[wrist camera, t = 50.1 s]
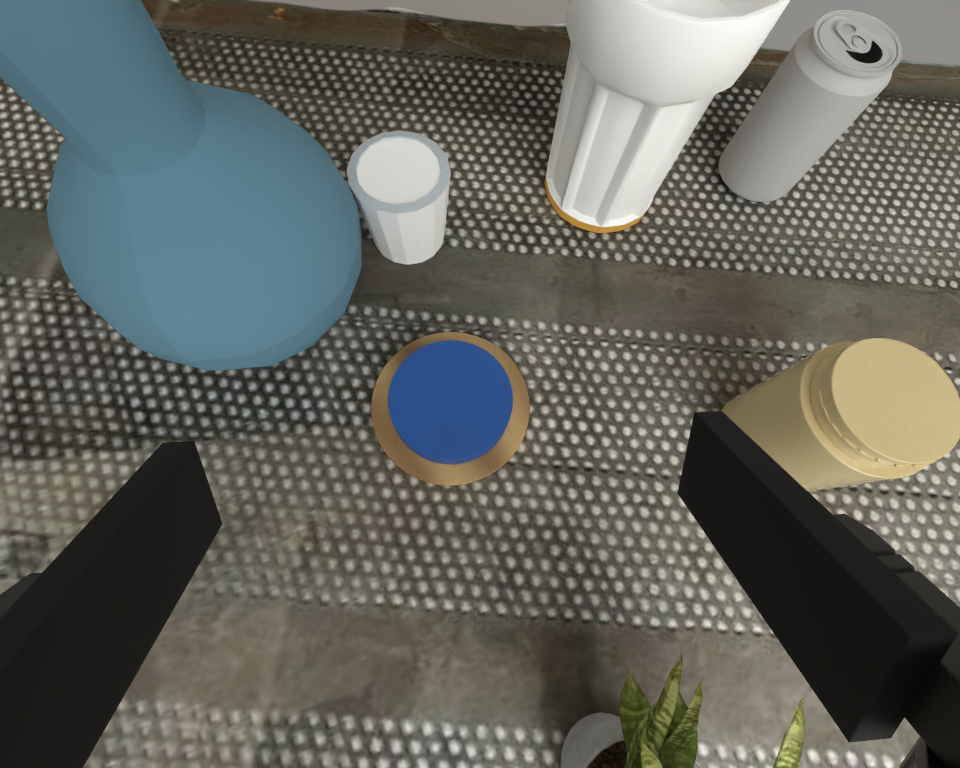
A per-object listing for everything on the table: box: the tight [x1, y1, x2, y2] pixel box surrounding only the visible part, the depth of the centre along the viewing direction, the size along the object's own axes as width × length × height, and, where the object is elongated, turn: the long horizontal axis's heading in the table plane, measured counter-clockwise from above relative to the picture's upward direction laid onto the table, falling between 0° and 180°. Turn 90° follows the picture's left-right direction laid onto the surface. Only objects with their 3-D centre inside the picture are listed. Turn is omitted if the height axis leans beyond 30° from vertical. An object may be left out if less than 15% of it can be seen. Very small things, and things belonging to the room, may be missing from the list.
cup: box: [544, 0, 790, 233], centre depth 32 cm, size 11×11×17 cm
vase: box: [0, 0, 362, 370], centre depth 24 cm, size 16×16×25 cm
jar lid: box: [388, 340, 513, 465], centre depth 32 cm, size 8×8×2 cm
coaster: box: [371, 332, 530, 486], centre depth 33 cm, size 11×11×1 cm
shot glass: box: [347, 130, 451, 265], centre depth 35 cm, size 7×7×7 cm
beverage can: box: [719, 10, 903, 202], centre depth 36 cm, size 6×6×12 cm
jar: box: [721, 338, 960, 492], centre depth 29 cm, size 8×8×11 cm
